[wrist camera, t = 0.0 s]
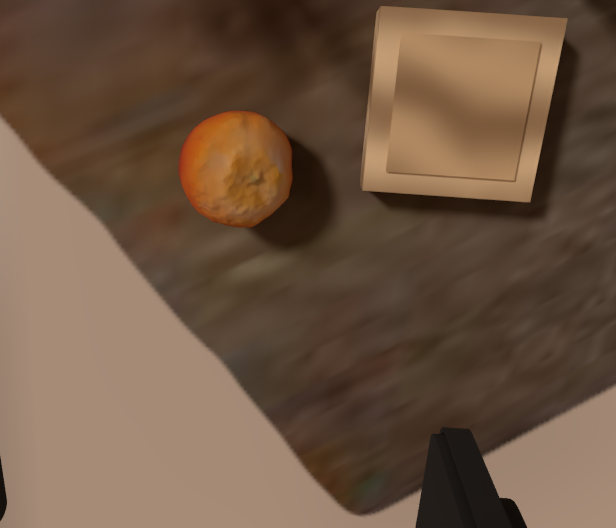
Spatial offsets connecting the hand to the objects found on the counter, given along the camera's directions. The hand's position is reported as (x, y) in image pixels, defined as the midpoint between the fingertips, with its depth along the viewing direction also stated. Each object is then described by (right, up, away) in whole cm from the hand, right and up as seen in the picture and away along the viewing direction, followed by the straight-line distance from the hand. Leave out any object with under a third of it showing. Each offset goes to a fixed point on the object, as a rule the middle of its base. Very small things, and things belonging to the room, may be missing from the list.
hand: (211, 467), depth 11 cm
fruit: (-3, +12, +29) cm, 32 cm away
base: (+12, +16, +27) cm, 34 cm away
